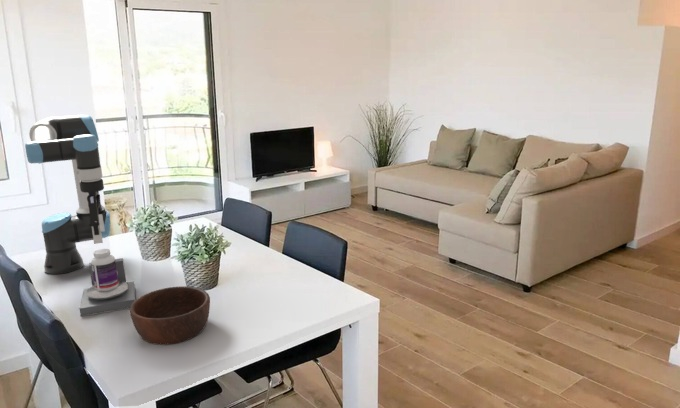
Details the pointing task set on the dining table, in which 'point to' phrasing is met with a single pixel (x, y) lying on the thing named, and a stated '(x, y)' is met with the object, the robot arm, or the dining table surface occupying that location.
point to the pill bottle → (104, 270)
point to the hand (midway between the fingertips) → (99, 237)
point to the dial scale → (111, 304)
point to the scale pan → (107, 292)
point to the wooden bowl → (170, 314)
